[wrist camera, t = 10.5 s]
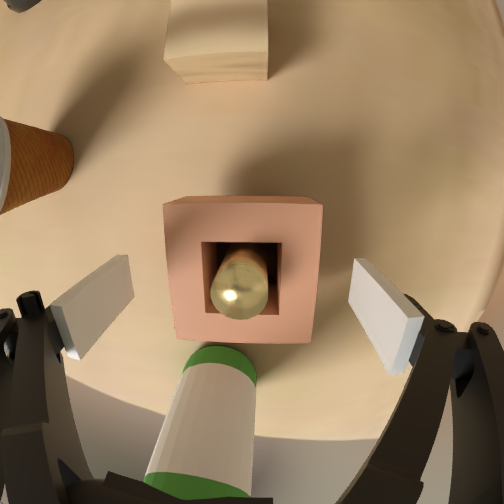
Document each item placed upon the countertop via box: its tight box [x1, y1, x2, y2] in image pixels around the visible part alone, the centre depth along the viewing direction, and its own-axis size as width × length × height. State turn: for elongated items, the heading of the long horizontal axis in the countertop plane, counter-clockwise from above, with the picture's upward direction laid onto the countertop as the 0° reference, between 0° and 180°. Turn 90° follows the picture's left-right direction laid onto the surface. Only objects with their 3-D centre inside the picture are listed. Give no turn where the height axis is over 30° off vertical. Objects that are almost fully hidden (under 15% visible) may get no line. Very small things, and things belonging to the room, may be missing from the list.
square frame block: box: [163, 196, 323, 344], centre depth 18 cm, size 9×9×5 cm
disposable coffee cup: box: [0, 117, 73, 215], centre depth 16 cm, size 10×10×12 cm
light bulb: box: [211, 242, 277, 320], centre depth 19 cm, size 7×7×10 cm
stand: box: [163, 0, 268, 84], centre depth 16 cm, size 7×7×6 cm
